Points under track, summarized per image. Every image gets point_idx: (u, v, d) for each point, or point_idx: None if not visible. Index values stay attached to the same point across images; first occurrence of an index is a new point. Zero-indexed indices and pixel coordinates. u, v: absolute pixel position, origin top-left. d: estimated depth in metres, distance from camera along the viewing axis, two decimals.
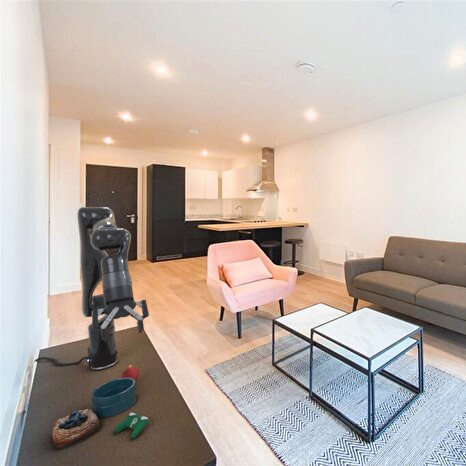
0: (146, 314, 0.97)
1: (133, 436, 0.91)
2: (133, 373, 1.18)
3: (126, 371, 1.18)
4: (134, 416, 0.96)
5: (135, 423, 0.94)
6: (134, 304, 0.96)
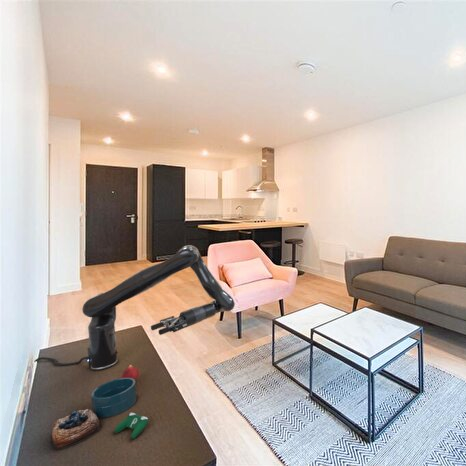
0: None
1: (133, 436, 0.91)
2: (133, 373, 1.18)
3: (126, 371, 1.18)
4: (134, 416, 0.96)
5: (135, 423, 0.94)
6: None
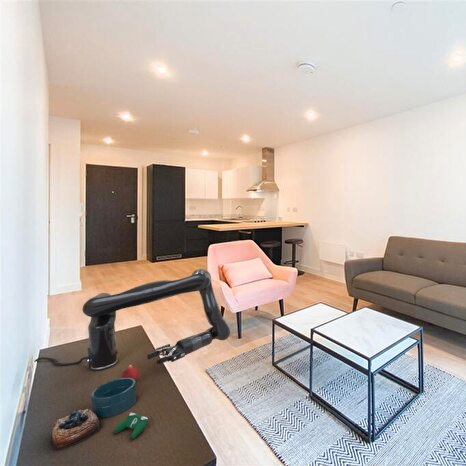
0: None
1: (133, 436, 0.91)
2: (133, 373, 1.18)
3: (126, 371, 1.18)
4: (134, 416, 0.96)
5: (135, 424, 0.94)
6: None
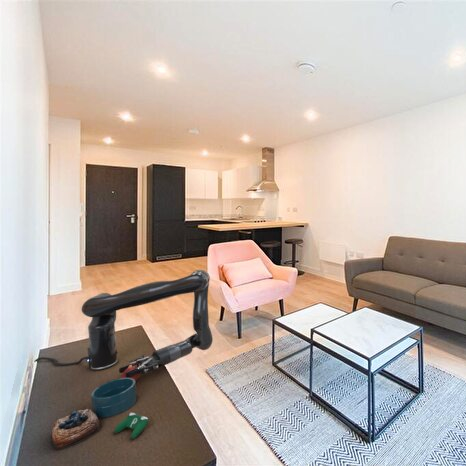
0: None
1: (133, 436, 0.91)
2: None
3: (126, 371, 1.18)
4: (134, 416, 0.96)
5: (135, 423, 0.94)
6: None
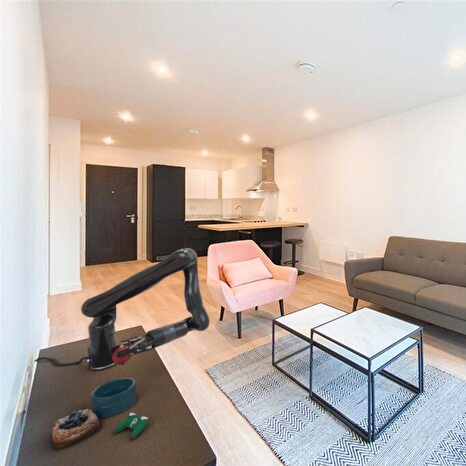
0: None
1: (133, 436, 0.91)
2: None
3: (117, 351, 1.10)
4: (134, 416, 0.96)
5: (135, 423, 0.94)
6: None
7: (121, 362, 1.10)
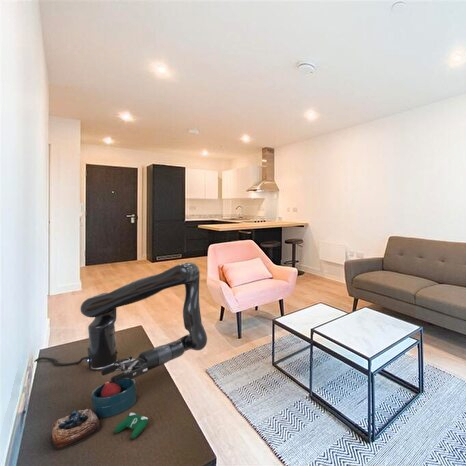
0: None
1: (133, 436, 0.91)
2: (111, 386, 1.06)
3: (103, 388, 1.06)
4: (134, 416, 0.96)
5: (135, 423, 0.94)
6: None
7: None
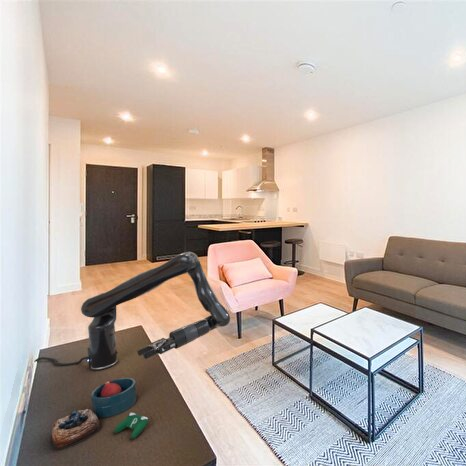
0: None
1: (133, 436, 0.91)
2: (111, 386, 1.06)
3: (103, 388, 1.06)
4: (134, 416, 0.96)
5: (135, 423, 0.94)
6: None
7: None
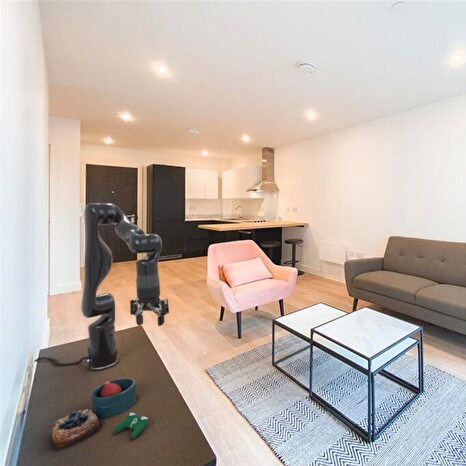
0: (163, 313, 1.13)
1: (133, 436, 0.91)
2: (111, 386, 1.06)
3: (103, 388, 1.06)
4: (134, 416, 0.96)
5: (135, 423, 0.94)
6: (156, 302, 1.13)
7: None
